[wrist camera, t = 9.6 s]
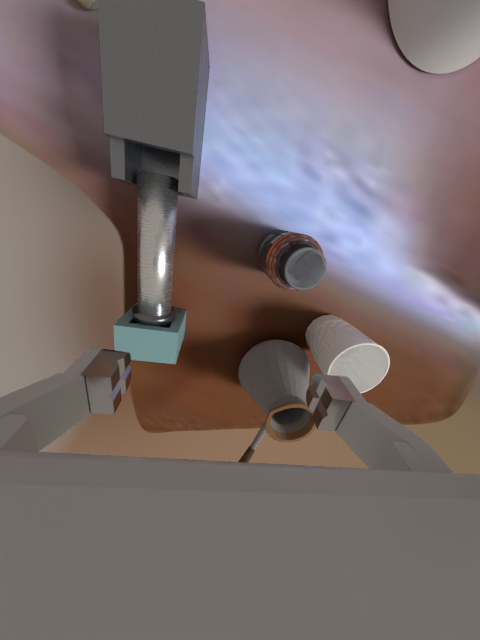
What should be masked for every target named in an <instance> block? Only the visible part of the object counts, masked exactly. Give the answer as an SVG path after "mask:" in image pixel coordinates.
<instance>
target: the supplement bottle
mask: <svg viewBox="0 0 480 640" xmlns="http://www.w3.org/2000/svg"><path fill="white" fill-rule="evenodd" d="M257 261H258V263H259V265H260V267H261V269H262V270H263V271H264V272H265V273H266V275H267V276H268V277H269V278H270V279H271V280H272V282H273V283H274V284H275V285H277V286H278V287H279V288H281V289H283V290H287V291H300V290H307V289H311V288H313V287H314V286H316V285H317V284H318V283H319V282H320V281H321V280H322V278H323V277H324V274H325V272H326V260H325V258H324V255H323V251H322V248H321V246H320V245H319V244H318V242H317V241H316V240H315V239H313V238H312V237H310V236H308V235H304V234H300V233H294V232H288V231H281V230H279V231H273V232H271V233H269V234H267V235H266V236H265V237H264V238H263V239H262V240H261V241H260V243H259V245H258V248H257Z"/></svg>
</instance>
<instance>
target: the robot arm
mask: <svg viewBox="0 0 480 640" xmlns="http://www.w3.org/2000/svg"><path fill="white" fill-rule="evenodd" d="M388 6H389V15H390V21H391V26H392V30H393V33H394V36H395V39H396V41H397V44H398V46H399V48H400V50H401V51H402V53H403V54H404V56H405V57H406V58H407V59H408V60H409V61H410V62H411V63H412V64H413V65H414V66H416V67H417V68H419V69H421V70H423V71H425V72H429V73H434V74H444V73H450V72H454V71H456V70H459V69H461V68H464V67H466V66H467V65H469V64H471V63H472V62H474V61H475V60H477V59H478V58H479V57H480V0H388ZM130 361H131V354H130V353H129V352H123V351H115V350H108V349H99V348H88V349H86V350H85V352H83V354H82V355H81V356H80V357H79V358H78V359H77V360H76V361H75V362H74V363H73V364H72V365H71V366H70V367H69V368H68V369H67V370H66V371H65V372H64V373H63V374H62V373H58V374H56V375H53V376H51V377H49V378H46V379H44V380H41V381H39V382H37V383H34V384H32V385H29V386H27V387H24V388H22V389H19V390H17V391H15V392H12V393H10V394H8V395H5V396H3V397H0V640H480V475H477V474H458V473H453V471H452V470H451V469H450V468H449V467H448V466H447V464H446V463H445V462H444V461H443V460H442V458H441V457H440V456H439V455H438V454H437V453H436V451H435V450H434V449H433V448H432V447H431V446H430V445H429V443H427V442H426V441H424V440H423V439H422V438H420V437H419V436H417V435H416V434H414V433H413V432H411V431H410V430H408V429H407V428H406V427H404V426H403V425H401V424H400V423H398V422H397V421H395V420H394V419H393V418H391V417H390V416H388V415H387V414H385V413H384V412H382V411H381V410H379V409H378V408H377V407H375V406H374V405H372V404H371V403H367V402H366V401H365V399H364V398H363V396H362V395H361V394H360V392H359V391H358V390H357V388H356V387H355V385H354V384H353V383H352V381H351V380H350V378H348V377H347V376H338V375H336V376H334V375H325V374H315V375H314V376H313V378H312V383H313V384H312V385H311V386H309V387H308V389H307V392H306V403H307V406H308V408H309V409H310V410H311V411H312V412H313V414H312V418H313V420H314V423H315V425H316V428H317V429H318V430H328V431H336V433H337V435H338V436H339V437H340V438H341V439H342V440H343V441H344V442H345V443H346V444H347V445H348V446H349V447H350V448H351V449H352V451H353V452H354V453H355V454H356V455H357V456H358V457H359V458H360V459H361V460H362V461H363V462H364V463H365V464H366V465H367V466H368V467H369V469H361V468H342V467H323V466H304V465H284V464H265V463H264V464H263V463H245V462H226V461H207V460H188V459H187V460H186V459H168V458H149V457H129V456H110V455H91V454H71V453H70V454H69V453H51V452H39V451H40V450H42V449H43V448H44V447H46V446H47V445H48V444H50V443H51V442H53V441H54V440H55V439H57V438H58V437H59V436H61V435H62V434H63V433H65V432H66V431H67V430H68V429H70V428H72V427H73V426H74V425H76V424H77V423H78V422H80V421H81V420H82V419H84V418H85V417H87V416H88V415H89V414H90V413H107V414H114V413H115V411H116V409H117V408H118V406H119V404H120V402H121V394H123V393H125V392H126V391H127V389H128V387H129V384H130V380H131V368H130V367H129V366H128V365H129V363H130Z"/></svg>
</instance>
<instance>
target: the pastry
mask: <svg viewBox="0 0 480 640" xmlns="http://www.w3.org/2000/svg"><path fill="white" fill-rule="evenodd" d="M77 1H78V2H79V3H80V4H81V6H82V7H84V8H86V9H88V10H95V9H96V8H97V9H98V3H97V0H77Z"/></svg>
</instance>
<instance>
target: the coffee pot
mask: <svg viewBox="0 0 480 640" xmlns="http://www.w3.org/2000/svg"><path fill="white" fill-rule="evenodd" d="M309 371H310V367H309V360H308V358H307V356H306V354H305V352H304V351H303V350H302V349H301V348H300V347H299V346H297V345H295V344H293V343H291V342H289V341H284V340H268V341H264V342H261V343H259V344H257V345H255V346H254V347H252V348H251V349H250V350H249V351H248V352H247V353H246V355H245V356H244V357H243V359H242V360H241V363H240V366H239V374H238V377H239V380H240V383H241V385H242V387H243V388H244V390H245V391H246V392H247V393H248V394H249V396H250V397H251V398H252V399H253V400H254V401H255V403H256V404H257V405H258V406H259V407H260V408H261V409H262V411H263V412H264V413H265V414H266V415H267V418H266V420H265V422H264V424H263V425H262V427H261V429H260V430H259V432H258V434H257V435H256V437H255V439H254V441H253V442H252V444H251V446H249V448H248V449H247V450H246V452H245V453H244V455H243V456H242V457H241V459H240V460H239V462H245V463H248V462H249V460H250V458H251V457H252V455H253V453H254V451H255V448H256V447H257V445H258V444H259V442H260V441H261V439H262V438H263V436H264V435H265V433H266V432H267V433H268V434H269V436H270V437H272V438H273V439H274V440H277V441H281V442H294V441H298V440H301V439H303V438H305V437H307V436H308V435H310V434H311V433H312V432H313V430H314V429H315V428H316V425H315V423H314V420H313V418H312V414H313V412H312V411H311V410H310V409H309V408H308V406H307V403H306V392H307V389H308V385H309Z"/></svg>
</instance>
